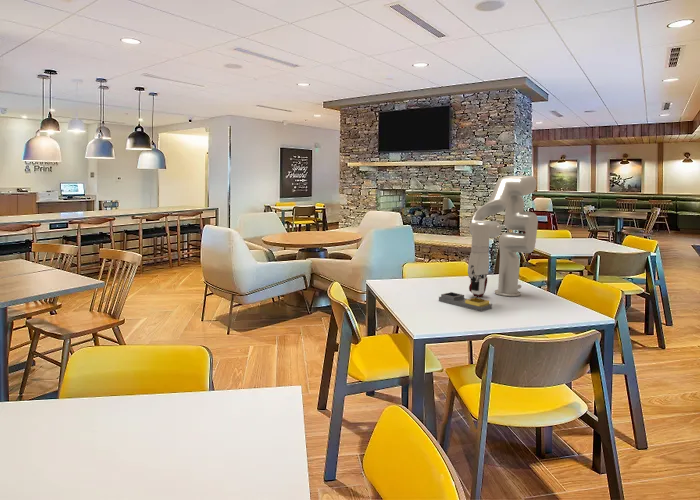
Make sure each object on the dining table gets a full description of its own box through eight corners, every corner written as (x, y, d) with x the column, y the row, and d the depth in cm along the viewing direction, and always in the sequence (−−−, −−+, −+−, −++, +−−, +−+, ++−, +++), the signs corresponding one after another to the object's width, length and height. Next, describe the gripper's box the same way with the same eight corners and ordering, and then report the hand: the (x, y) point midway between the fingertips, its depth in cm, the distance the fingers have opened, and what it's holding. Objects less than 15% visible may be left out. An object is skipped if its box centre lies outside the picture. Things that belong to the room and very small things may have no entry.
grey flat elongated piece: (449, 298, 242) (449, 291, 241) (491, 308, 224) (491, 301, 223) (438, 301, 237) (439, 293, 236) (481, 311, 219) (481, 303, 218)
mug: (477, 300, 240) (478, 279, 238) (463, 296, 246) (464, 277, 244) (489, 296, 247) (490, 277, 246) (475, 293, 253) (476, 274, 251)
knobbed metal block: (476, 291, 227) (477, 274, 226) (484, 293, 224) (484, 276, 223) (471, 293, 224) (472, 275, 223) (478, 294, 221) (479, 277, 220)
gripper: (483, 247, 229) (481, 286, 232) (461, 250, 219) (459, 290, 221) (497, 249, 224) (495, 288, 226) (475, 252, 213) (473, 293, 215)
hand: (477, 289), depth 224 cm, fingers closed on knobbed metal block, 4 cm apart
